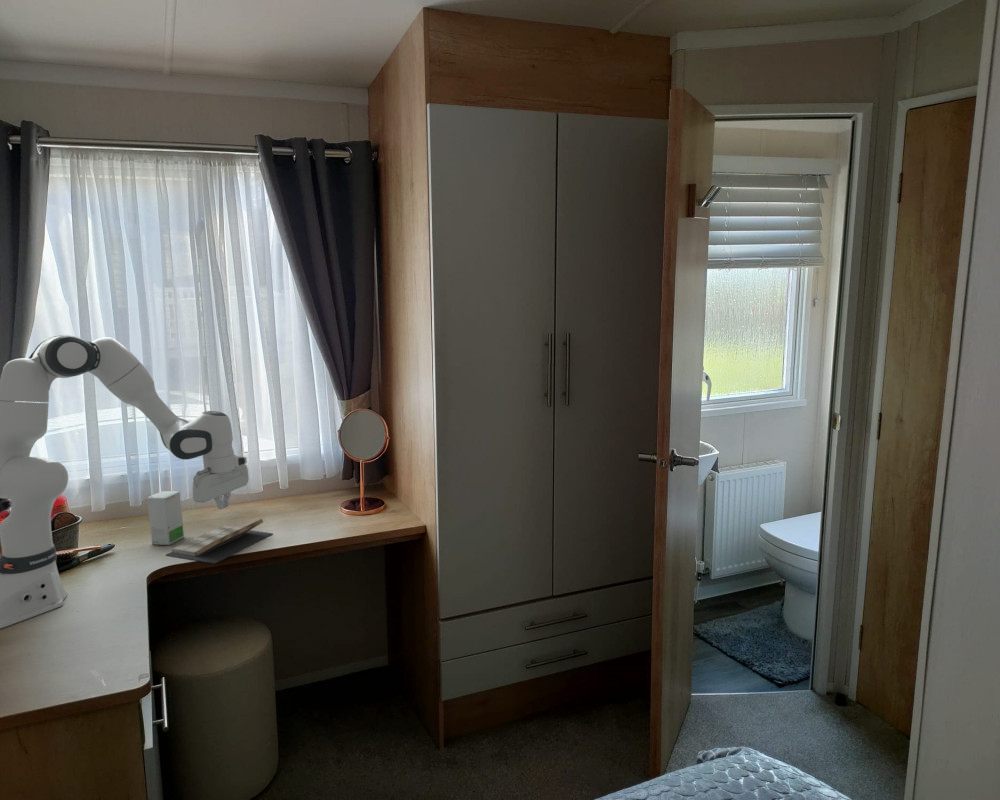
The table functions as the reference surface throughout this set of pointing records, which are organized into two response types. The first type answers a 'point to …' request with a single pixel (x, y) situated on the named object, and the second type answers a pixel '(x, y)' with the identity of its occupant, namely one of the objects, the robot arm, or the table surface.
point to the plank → (228, 537)
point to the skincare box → (165, 517)
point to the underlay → (226, 547)
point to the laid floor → (203, 540)
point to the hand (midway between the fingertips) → (223, 507)
